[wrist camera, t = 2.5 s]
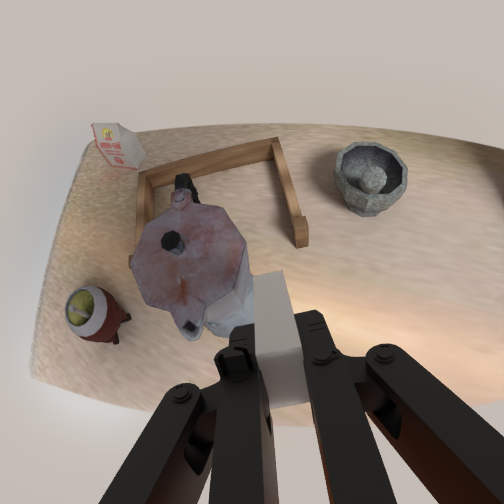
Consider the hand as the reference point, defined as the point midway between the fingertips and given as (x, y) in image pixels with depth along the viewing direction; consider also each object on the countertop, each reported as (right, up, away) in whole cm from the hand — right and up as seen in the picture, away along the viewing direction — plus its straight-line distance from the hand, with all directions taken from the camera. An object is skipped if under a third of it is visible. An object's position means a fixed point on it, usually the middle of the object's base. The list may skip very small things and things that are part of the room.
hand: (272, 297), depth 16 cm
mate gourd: (-20, -8, +24) cm, 32 cm away
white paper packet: (-24, +19, +38) cm, 49 cm away
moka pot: (-4, -4, +23) cm, 24 cm away
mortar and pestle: (+15, +9, +26) cm, 32 cm away
